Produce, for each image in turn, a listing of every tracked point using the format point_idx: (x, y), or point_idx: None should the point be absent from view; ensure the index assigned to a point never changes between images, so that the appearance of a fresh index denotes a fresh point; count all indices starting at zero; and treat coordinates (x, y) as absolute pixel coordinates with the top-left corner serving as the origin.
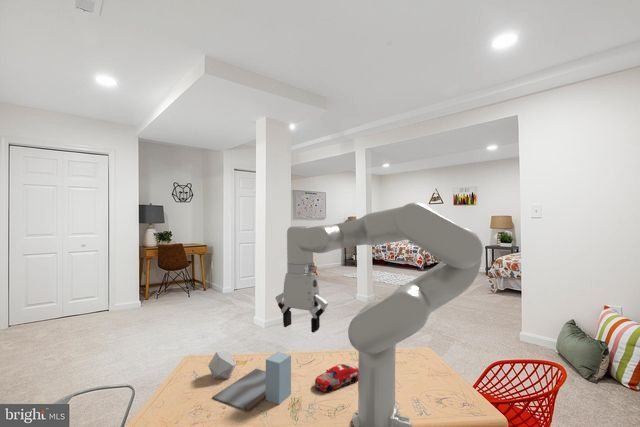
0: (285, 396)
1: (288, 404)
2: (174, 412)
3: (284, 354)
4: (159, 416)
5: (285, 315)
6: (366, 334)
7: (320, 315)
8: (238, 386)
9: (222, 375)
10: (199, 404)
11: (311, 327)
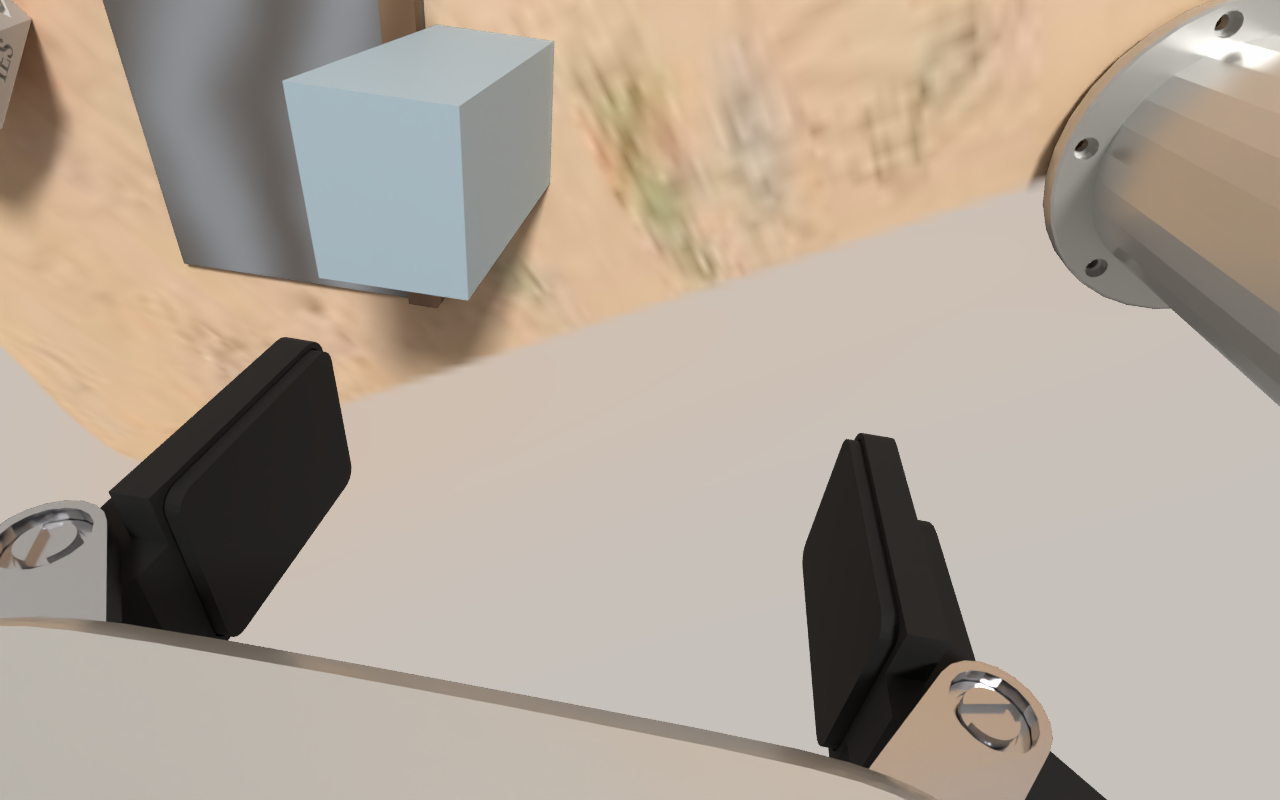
0: (547, 118)
1: (599, 161)
2: (174, 397)
3: (389, 117)
4: (158, 431)
5: (243, 624)
6: None
7: (1015, 700)
8: (194, 111)
9: (11, 90)
10: (195, 322)
11: (809, 609)
